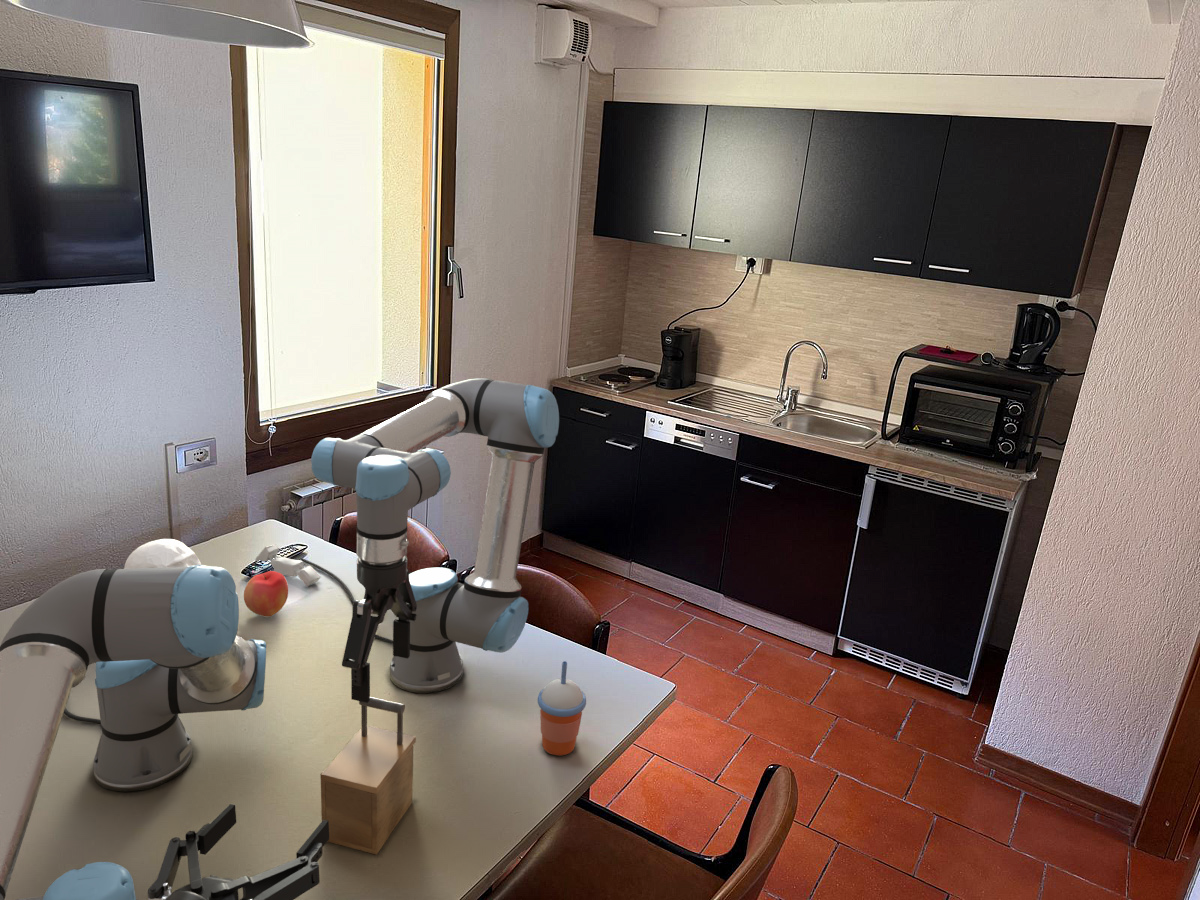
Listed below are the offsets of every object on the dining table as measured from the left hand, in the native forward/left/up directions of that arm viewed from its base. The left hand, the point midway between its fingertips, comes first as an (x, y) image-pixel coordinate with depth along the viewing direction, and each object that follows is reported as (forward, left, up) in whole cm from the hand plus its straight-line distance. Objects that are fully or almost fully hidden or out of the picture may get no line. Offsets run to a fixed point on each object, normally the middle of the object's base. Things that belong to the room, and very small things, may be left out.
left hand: (279, 820), depth 113 cm
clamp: (-62, +95, -19) cm, 115 cm away
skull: (-77, +72, -19) cm, 107 cm away
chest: (0, +23, -19) cm, 30 cm away
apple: (-54, +76, -19) cm, 95 cm away
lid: (0, +24, -7) cm, 25 cm away
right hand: (0, +28, +6) cm, 28 cm away
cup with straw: (+24, +52, -19) cm, 61 cm away
